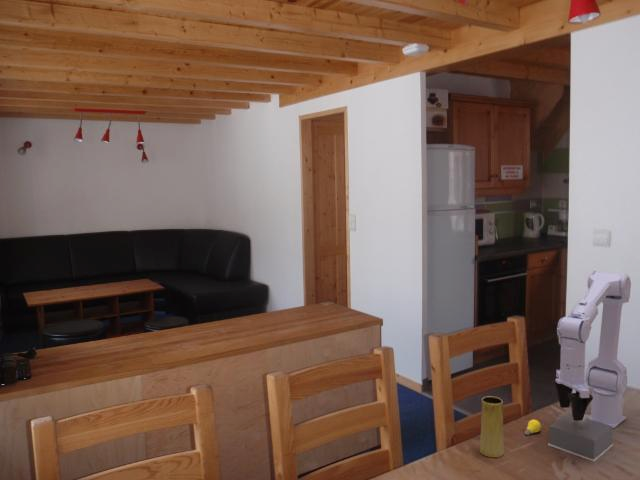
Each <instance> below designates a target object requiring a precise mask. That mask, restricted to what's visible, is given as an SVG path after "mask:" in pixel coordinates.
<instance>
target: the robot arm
mask: <svg viewBox="0 0 640 480" xmlns="http://www.w3.org/2000/svg"><path fill="white" fill-rule="evenodd" d="M587 288H588V290H587V293H586V294H585V296H584V299H580V300H578V301H577V302H576V303H575V304H574V306H573V308H572V309H571V310H570V311H569V313H568V315H567V316H564V317H561V318H560V319H559V320H558V322H557V326H556V327H557V328H556V333H557V334H556V335H557V337H558V344H559V345H560V362H559V363H560V364H559V365H560V368H559V369H556V371H555V374H556V375H555V377H556V378H555V379H553V380H552V381H551V382H552V384H553V386H554V389H555V390H556V393H557V398H558V402H559V407H560V408H561V409H563V408H564V409H565V408H570V405H571V414H572V415H573V419H574V420H575V421H581V420H583V417H584V414H586V411H587V408H588V406H589V405H590V403H591V405H590V406H591V407H590V414H589V415H590V418H589V419H591V420H594V421H597V422H601V423H604V424H607V425H610V426H613V429H615V428H616V427H617V426H618V425H620V424H621V423H622V422H623V421H624V420H626V419H627V417H626V416H625V415H623V413H624V412H623V410H624V409H623V408H624V397H623V394H624V393H625V392H626V389H627V385H628V376H627V375H628V374H627V373H628V371H627V367H626V366H625V365H624V364H623V363H622V362H621V361H620V360H619V359H618V348H619V341H620V340H619V339H620V331H621V330H620V328H621V320H622V319H621V317H622V308H623V305H624V304H625V303H629V302H630V298H631V288H632V282H631V278H630V276H629V275H628V274H626V273H624V274H621V273H616V272H615V273H614V272H613V273H612V272H604V271H603V272H602V271H596V270H593V271H591V272H590V273H589V275H588V277H587ZM601 303H602V304H603V305H602V314H601V323H600V324H601V325H600V332H599V333H600V336H599V345H598V354H597V357H595V358H593V359H590V360H589V362H588V363H587V368H586V369H585V367H586V342H587V341H588V339H589V338H590V333H591V329H592V323H594V321H595V319H596V317H597V316H598V314H599V308H598V306H599V305H600V304H601ZM585 371H586V372H585ZM587 386H588V387H589V389H588V387H587ZM573 391H575V392H573ZM590 391H591V394H590Z"/></svg>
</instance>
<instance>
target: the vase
mask: <svg viewBox="0 0 640 480" xmlns="http://www.w3.org/2000/svg"><path fill="white" fill-rule="evenodd" d="M480 424H481V425H480V429H481V430H480V436H479V437H480V441H479V452H480V454H481V455H484V456H486V457H488V458H500V457H502V456H503V455H504V454H505V451H504V401H503V399H501V398H500V397H497V396H492V395H487V396H483V397H482V398H481V422H480Z"/></svg>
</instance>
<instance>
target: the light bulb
mask: <svg viewBox="0 0 640 480" xmlns="http://www.w3.org/2000/svg"><path fill="white" fill-rule="evenodd" d="M541 425H542V424H541V422H539V420H538V419H537V420H536V419H531V420H529V421H528V422H527V427H526V429H525V431H524V434H525V436H530V435H531V434H534V433H538V432H541V431H540V430H541V427H542V426H541Z"/></svg>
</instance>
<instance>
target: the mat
mask: <svg viewBox="0 0 640 480" xmlns="http://www.w3.org/2000/svg"><path fill="white" fill-rule="evenodd" d="M547 446H550V447H552V448H555V449H557V450H560V451H563V452H566V453H568V454H572V455H574V456H577V457H580V458H583V459H584V460H585V459H586V460H588V461H591V462H596V461H597V460H598V459H599V458H601V457H602V456H603V455H604V454H605V453H606V452H607V451H608V450H609V449H611V448H612V447H614V443H612V445H610V446H609V447H608V448H607V449H606V450H605V451H603V452H602V453H601V454H600V455H599V456H598V457H597V458H595V459H591V458H588V457H585V456H582V455H579V454H577V453H574V452H571V451H568V450H565V449H563V448H560V447H557V446H554V445H551V444H549V442H548V443H547Z"/></svg>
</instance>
